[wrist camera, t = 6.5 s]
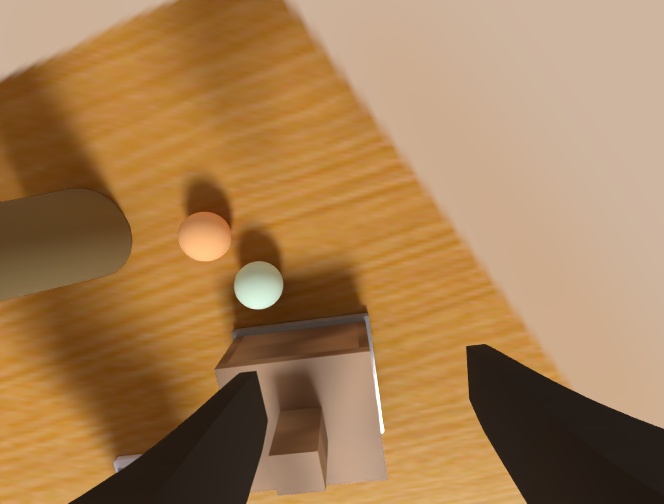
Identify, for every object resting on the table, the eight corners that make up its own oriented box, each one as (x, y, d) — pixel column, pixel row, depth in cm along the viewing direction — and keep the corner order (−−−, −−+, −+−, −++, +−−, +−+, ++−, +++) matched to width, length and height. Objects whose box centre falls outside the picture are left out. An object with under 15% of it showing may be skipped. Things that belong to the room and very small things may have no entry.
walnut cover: (365, 320, 21) (376, 386, 14) (380, 431, 23) (396, 534, 16) (236, 337, 21) (188, 407, 15) (262, 443, 23) (230, 547, 17)
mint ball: (290, 295, 21) (282, 314, 18) (248, 300, 21) (233, 320, 18) (282, 253, 20) (272, 265, 17) (238, 259, 20) (221, 272, 17)
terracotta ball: (242, 251, 20) (226, 263, 17) (199, 257, 20) (175, 270, 17) (232, 206, 20) (213, 210, 17) (187, 213, 20) (161, 218, 17)
